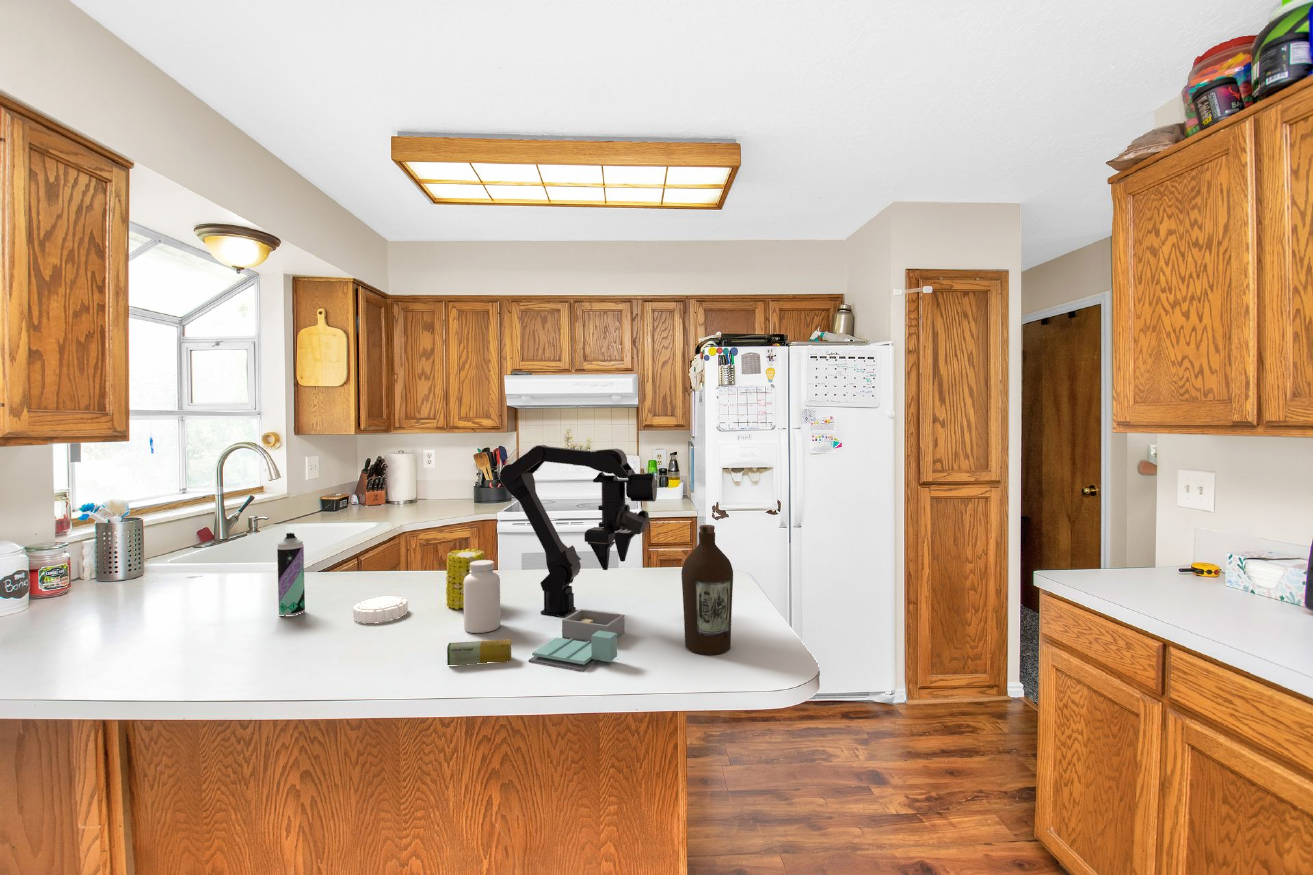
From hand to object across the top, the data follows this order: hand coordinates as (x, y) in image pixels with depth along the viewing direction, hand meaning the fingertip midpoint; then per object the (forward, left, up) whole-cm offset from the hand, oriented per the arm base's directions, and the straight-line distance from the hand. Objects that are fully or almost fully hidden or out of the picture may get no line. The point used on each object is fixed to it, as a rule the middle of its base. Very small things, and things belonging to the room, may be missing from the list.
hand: (614, 565), depth 140 cm
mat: (+3, -26, -12) cm, 29 cm away
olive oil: (+27, -11, -12) cm, 32 cm away
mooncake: (-53, -21, -12) cm, 58 cm away
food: (-39, -7, -12) cm, 41 cm away
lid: (+5, -26, -12) cm, 29 cm away
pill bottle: (-24, -19, -12) cm, 33 cm away
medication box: (-12, -34, -12) cm, 38 cm away
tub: (+2, -14, -12) cm, 19 cm away
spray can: (-75, -28, -12) cm, 81 cm away
